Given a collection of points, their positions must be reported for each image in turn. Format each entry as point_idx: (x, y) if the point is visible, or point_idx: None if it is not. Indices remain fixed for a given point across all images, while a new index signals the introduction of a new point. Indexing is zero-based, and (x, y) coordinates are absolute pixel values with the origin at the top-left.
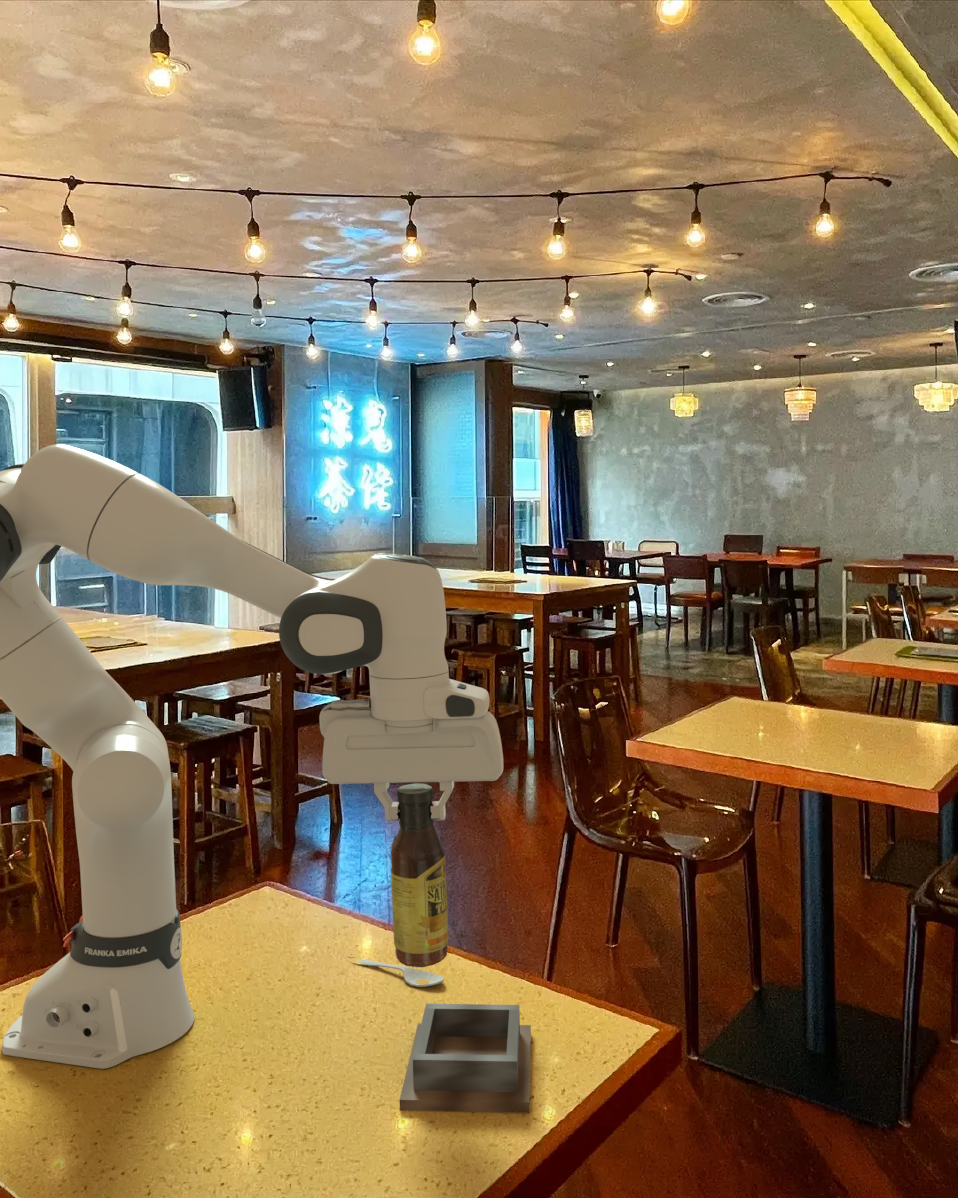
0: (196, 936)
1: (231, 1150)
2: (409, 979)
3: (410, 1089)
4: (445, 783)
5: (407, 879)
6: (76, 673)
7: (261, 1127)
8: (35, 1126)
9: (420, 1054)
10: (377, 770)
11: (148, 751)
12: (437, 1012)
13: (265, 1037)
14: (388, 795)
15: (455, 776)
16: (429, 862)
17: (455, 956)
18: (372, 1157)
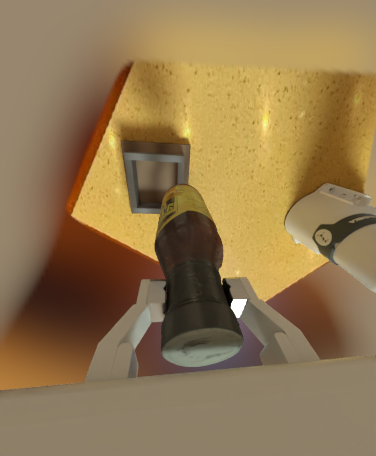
0: (279, 279)
1: (273, 108)
2: None
3: (185, 155)
4: (109, 372)
5: (198, 211)
6: None
7: (257, 130)
8: (362, 135)
9: (180, 161)
10: (365, 427)
11: None
12: None
13: (254, 209)
14: (254, 329)
15: (37, 417)
16: (171, 226)
17: None
18: (201, 98)
